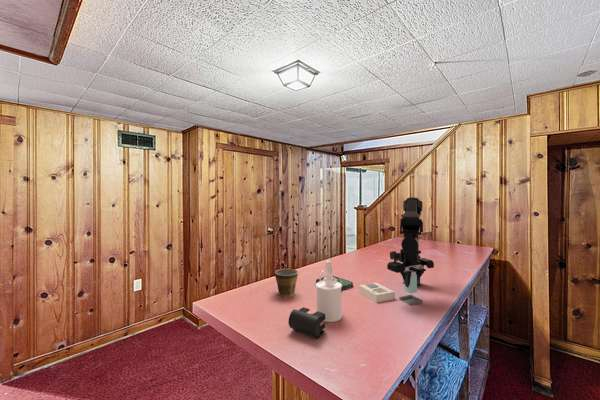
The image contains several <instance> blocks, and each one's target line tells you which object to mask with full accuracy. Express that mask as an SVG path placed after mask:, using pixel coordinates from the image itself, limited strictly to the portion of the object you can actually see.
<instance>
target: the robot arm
mask: <svg viewBox="0 0 600 400" xmlns="http://www.w3.org/2000/svg"><path fill="white" fill-rule="evenodd" d="M402 204H403V205H402V208H403V212H404V213H403V214H402V218H400V223H399V235H402V240H401V249H400V252H397V251H395V250H394V251H390V252H389V258H390V260H392V261H390V262H387V265H386V268H387V270H388V271H391V272H393V273H396V274H400V275H401V277H402V280H403V282H402V284H404V287H405V286H406V287H409V284H410V278H411V273H412V272H411V271H414V272H416V274H417V288H418V287H423V284H422V283H421V277H422V275H424V274H425V271H426V270H427V269H434V268H435V263H434V261H433V260H432V259H429V258H426V257H421V256H420V254H422V251H421V250H419V247H420V246H419V242H420V241H419V240H420V237H419V236H421V235H422V234H423V233H424V222H423V219H422V218H420V217H421V216H422V212H423V201H422V200H420V199H419V198H418V197H407V198H406V200H404V201H403V203H402ZM425 266H426V268H427V269H425ZM410 270H411V271H410Z"/></svg>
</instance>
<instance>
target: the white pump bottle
mask: <svg viewBox="0 0 600 400" xmlns="http://www.w3.org/2000/svg"><path fill="white" fill-rule="evenodd" d="M324 272H325V273H324ZM323 273H324V274H325V275H324V276H323V277H324V279H325V281H323V280H324V279H323V280H322V281H321V278H322V275H323ZM332 276H333V263H332V260H326V262H325V269H322V270H321V272H320V274H319V278H318V279H320V282H318V283H316V282H315V287H316V312H317V311H318V312H322V313H324V314H325V320H324V321H323V323H326V322H327V323H335V322H338V321H340V320H341V319H343V314H342V291H341V288H342V284H341V283H339V282H337V278H334V277H332ZM333 279H334V281H333Z"/></svg>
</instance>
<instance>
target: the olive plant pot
mask: <svg viewBox="0 0 600 400" xmlns="http://www.w3.org/2000/svg"><path fill="white" fill-rule="evenodd" d="M273 275H274V278H275V281H276V284H277V290H278V295H279V297H282V298H292V297H294V296H295V293H296V287H297V286H296V285H297V281H298V277H299V276H298V275H299V272H298V270H297V269H294V268H281V269H277V270H274V271H273Z"/></svg>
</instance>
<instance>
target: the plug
mask: <svg viewBox="0 0 600 400" xmlns="http://www.w3.org/2000/svg"><path fill="white" fill-rule="evenodd" d="M410 271H411V270H410ZM411 272H412V273H411V278H410V284H409V287H406V286H405V285H404V291H405V292H407V293H408V294H414V293H415V294H416V293H418V287H417V274H416V272H414V271H411Z"/></svg>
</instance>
